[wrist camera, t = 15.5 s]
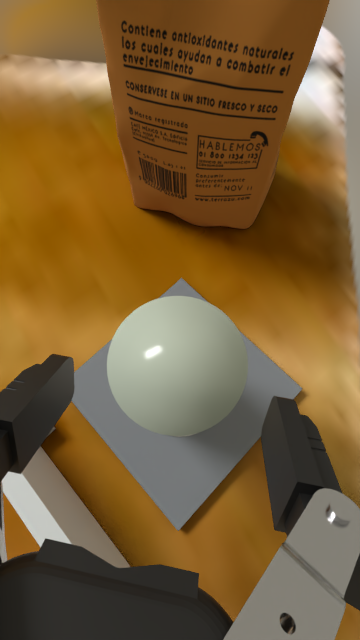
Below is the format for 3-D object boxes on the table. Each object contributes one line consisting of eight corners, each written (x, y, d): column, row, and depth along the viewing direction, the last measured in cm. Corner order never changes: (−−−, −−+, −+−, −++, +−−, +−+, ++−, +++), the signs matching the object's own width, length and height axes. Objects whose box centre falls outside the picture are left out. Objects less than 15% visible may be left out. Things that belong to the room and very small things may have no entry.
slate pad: (178, 528, 18) (178, 531, 17) (61, 386, 21) (58, 385, 20) (299, 389, 21) (303, 388, 20) (181, 280, 24) (181, 277, 23)
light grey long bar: (203, 759, 15) (210, 876, 11) (-10, 450, 20) (-57, 456, 16) (255, 685, 16) (278, 769, 12) (38, 406, 20) (6, 403, 17)
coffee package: (152, 132, 29) (77, -585, 8) (275, 160, 28) (549, -614, 7) (115, 210, 26) (-153, -621, 5) (251, 246, 25) (613, -687, 4)
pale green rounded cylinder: (198, 443, 19) (213, 464, 10) (129, 407, 20) (80, 393, 10) (229, 371, 21) (268, 328, 11) (164, 340, 21) (148, 276, 12)
